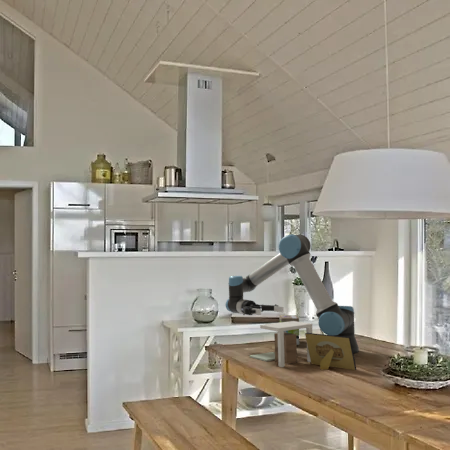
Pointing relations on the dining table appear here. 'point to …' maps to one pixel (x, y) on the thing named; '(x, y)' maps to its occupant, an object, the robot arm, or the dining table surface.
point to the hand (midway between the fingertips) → (271, 310)
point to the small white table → (280, 331)
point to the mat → (264, 356)
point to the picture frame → (330, 351)
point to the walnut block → (287, 348)
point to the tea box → (286, 319)
